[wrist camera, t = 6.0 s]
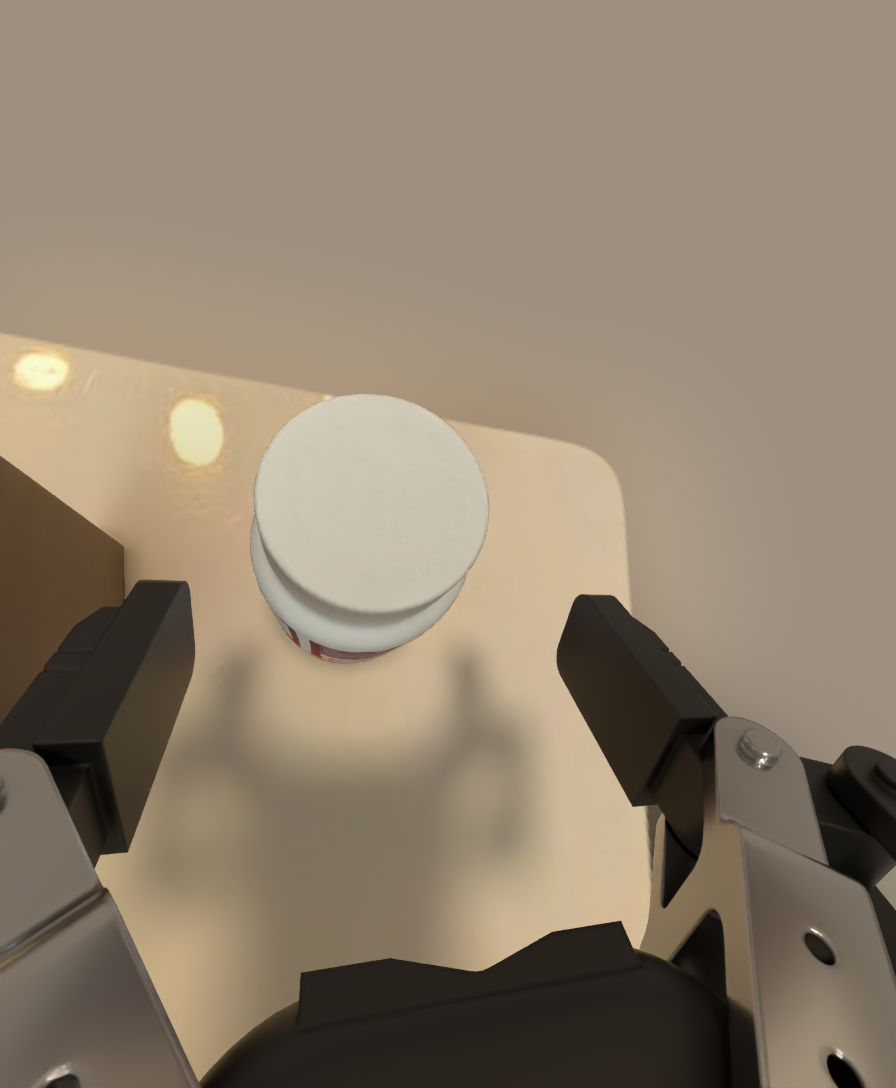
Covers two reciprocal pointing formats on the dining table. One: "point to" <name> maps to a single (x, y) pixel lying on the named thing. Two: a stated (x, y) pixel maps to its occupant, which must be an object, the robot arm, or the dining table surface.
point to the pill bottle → (365, 524)
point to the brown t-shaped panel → (46, 578)
